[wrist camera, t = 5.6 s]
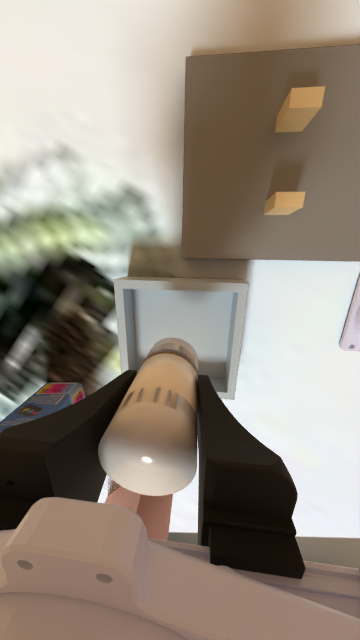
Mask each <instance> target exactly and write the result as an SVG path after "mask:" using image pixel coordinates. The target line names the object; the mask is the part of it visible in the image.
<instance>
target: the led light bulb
mask: <svg viewBox="0 0 360 640" xmlns="http://www.w3.org/2000/svg"><path fill="white" fill-rule="evenodd" d="M197 417H198V356H197V353H196V351H195V349H194V348H193V347H192V346H191V345H190V344H189V343H188V342H186V341H184V340H182V339H179V338H172V337H171V338H164V339H161V340H159V341H158V342H156V343H155V344H154V345H153V346H152V348H151V349H150V351H149V353H148V355H147V357H146V358H145V360H144V361H143V363H142V365H141V367H140V369H139V371H138V373H137V375H136V377H135V378H134V380H133V382H132V384H131V386H130V388H129V389H128V391H127V393H126V395H125V397H124V398H123V400H122V402H121V404H120V406H119V408H118V409H117V411H116V413H115V415H114V417H113V419H112V420H111V422H110V424H109V426H108V428H107V429H106V431H105V433H104V435H103V437H102V439H101V441H100V443H99V447H98V456H99V461H100V463H101V466H102V468H103V469H104V471H105V472H106V473H107V475H108V476H109V477H110V478H111V479H112V480H113V481H115V482H116V483H117V484H119V485H120V486H122V487H124V488H126V489H128V490H130V491H133V492H135V493H139V494H143V495H149V496H163V495H169V494H173V493H176V492H178V491H180V490H182V489H184V488H185V487H186V486H188V484H189V483H190V482H191V481H192V480H193V478H194V476H195V474H196V470H197Z"/></svg>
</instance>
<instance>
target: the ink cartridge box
mask: <svg viewBox="0 0 360 640" xmlns="http://www.w3.org/2000/svg"><path fill="white" fill-rule="evenodd" d="M84 398H86V395H85V392H84V388H83V385H82V384H81V383H79V382H50V383H46V384H45V385H44V386H43V387H41V388H40V389H39V390H38V391H37V392H36V393H34V394H33V395H32V396H31V397H30V398H28V399H27V400H26V401H25V402H24V403H23V404H21V405H20V406H19V407H18V408H17V409H15V410H14V411H13V412H12V413H11V414H9V415H8V416H7V417H6V418H5V419H3V420H2V421H1V422H0V433H1V432H2V431H3V430H4V429H5V428H8V427H12V426H15V425H19V424H22V423H25V422H29V421H32V420H35V419H38V418H41V417H43V416H46V415H49V414H51V413H54V412H56V411H59V410H61V409H63V408H65V407H68V406H70V405H72V404H74V403H76V402H78V401H80V400H82V399H84Z"/></svg>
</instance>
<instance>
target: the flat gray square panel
mask: <svg viewBox="0 0 360 640" xmlns="http://www.w3.org/2000/svg"><path fill="white" fill-rule="evenodd" d="M182 258H207V259H258V260H310V261H360V44H357V45H343V46H329V47H315V48H301V49H287V50H274V51H260V52H246V53H232V54H218V55H204V56H190V57H186V76H185V124H184V173H183V221H182Z"/></svg>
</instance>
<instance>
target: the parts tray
mask: <svg viewBox="0 0 360 640" xmlns="http://www.w3.org/2000/svg"><path fill="white" fill-rule="evenodd" d="M248 287H249V283H247V282H245V281H243V280H238V279H203V278H168V277H133V276H127V277H122V278H118V279H114V290H115V302H116V314H117V326H118V338H119V350H120V362H121V374H122V373H124V372H125V371H127V370H137V373H138V371H139V369H140V367H141V365H142V363H143V361H144V360H145V358H146V357H147V355H148V353H149V351H150V349H151V348H152V346H153V345H154V344H155V343H156V342H158V341H159V340H161V339H164V338H171V337H172V338H179V339H182V340H184V341H186V342H188V343H189V344H190V345H191V346H192V347H193V348H194V349H195V351H196V353H197V356H198V375H208V376H209V378H210V381H211V383H212V385H213V387H214V389H215V391H216V392H217V394H218V396H219V397H220V399H231V400H234V398H235V391H236V383H237V375H238V367H239V359H240V351H241V343H242V335H243V327H244V319H245V311H246V303H247V295H248Z"/></svg>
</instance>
